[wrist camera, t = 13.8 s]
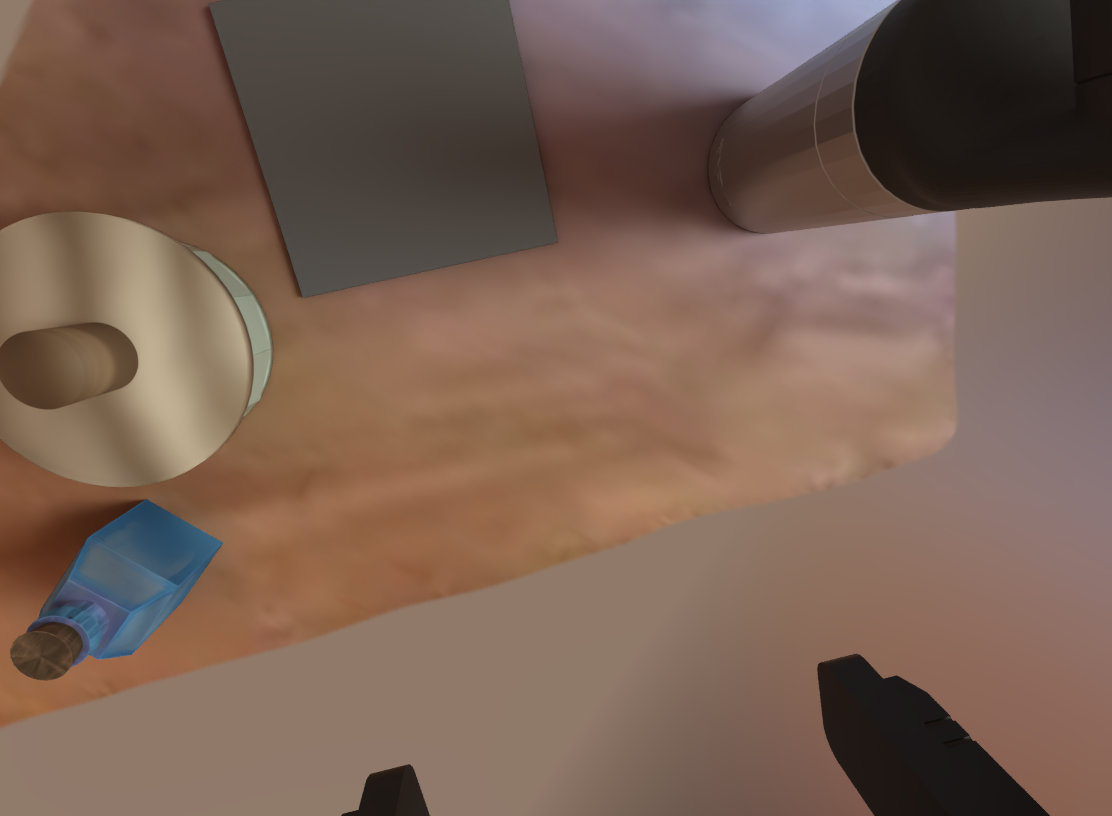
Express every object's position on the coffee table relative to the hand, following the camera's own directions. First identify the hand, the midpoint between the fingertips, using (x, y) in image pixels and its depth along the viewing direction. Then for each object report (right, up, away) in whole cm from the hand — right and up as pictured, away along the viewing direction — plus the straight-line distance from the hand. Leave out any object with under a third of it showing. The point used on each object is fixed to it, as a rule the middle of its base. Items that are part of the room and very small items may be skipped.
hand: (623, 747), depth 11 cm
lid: (-28, +10, +23) cm, 37 cm away
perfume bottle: (-31, -4, +33) cm, 45 cm away
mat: (-12, +25, +27) cm, 38 cm away
